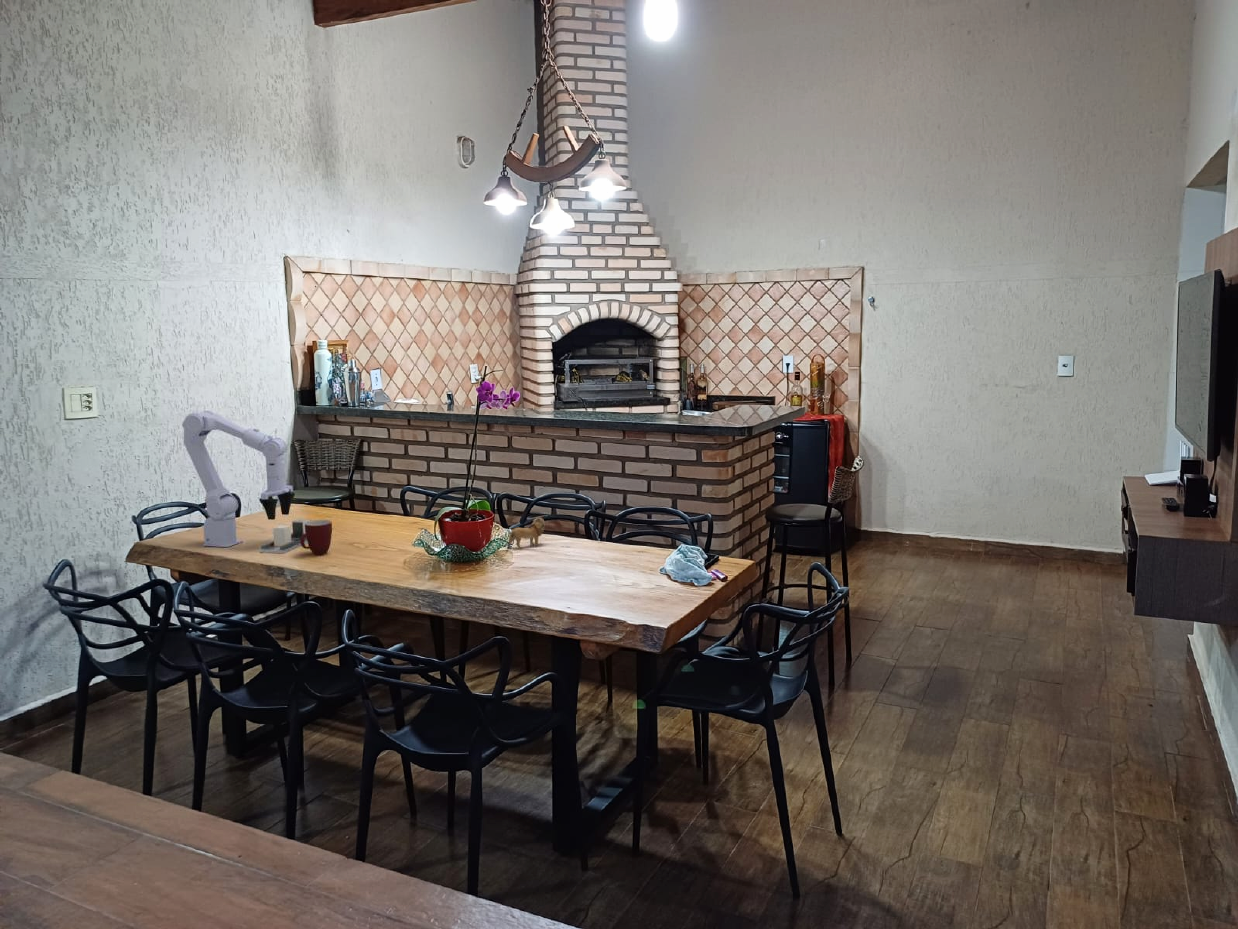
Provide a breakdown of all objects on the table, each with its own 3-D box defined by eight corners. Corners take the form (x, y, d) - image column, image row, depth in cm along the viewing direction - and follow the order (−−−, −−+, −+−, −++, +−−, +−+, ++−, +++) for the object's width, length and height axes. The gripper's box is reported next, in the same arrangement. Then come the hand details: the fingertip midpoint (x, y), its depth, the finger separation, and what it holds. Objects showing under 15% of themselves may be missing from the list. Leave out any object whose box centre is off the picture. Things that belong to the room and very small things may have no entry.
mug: (313, 560, 270) (311, 528, 269) (294, 557, 274) (292, 525, 273) (338, 552, 280) (337, 521, 278) (320, 549, 283) (318, 519, 282)
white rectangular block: (274, 546, 283) (273, 527, 283) (281, 543, 287) (280, 525, 286) (285, 546, 283) (284, 528, 282) (292, 543, 286) (291, 525, 286)
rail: (261, 552, 280) (259, 530, 279) (295, 538, 298) (293, 518, 297) (283, 553, 278) (282, 532, 277) (316, 539, 297) (315, 519, 295)
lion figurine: (539, 541, 293) (538, 515, 291) (548, 544, 289) (548, 518, 287) (502, 549, 283) (501, 521, 282) (511, 552, 279) (511, 524, 278)
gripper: (273, 480, 278) (276, 522, 280) (299, 472, 292) (302, 513, 294) (253, 479, 280) (256, 521, 282) (281, 472, 294) (283, 511, 296)
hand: (278, 517), depth 288 cm, fingers open, 7 cm apart
